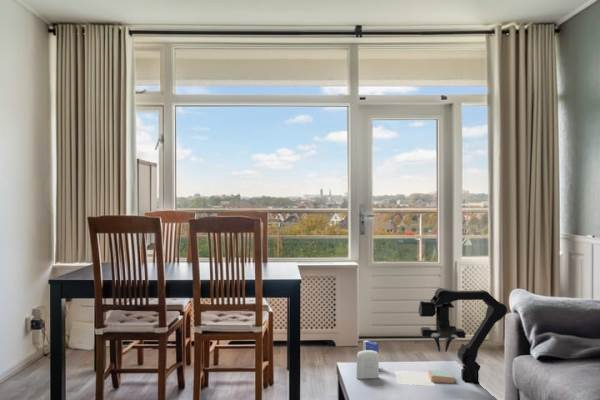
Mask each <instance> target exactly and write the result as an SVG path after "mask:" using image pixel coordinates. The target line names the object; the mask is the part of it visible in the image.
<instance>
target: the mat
mask: <svg viewBox="0 0 600 400" xmlns="http://www.w3.org/2000/svg"><path fill="white" fill-rule="evenodd" d="M428 373H429V371H427V372H426V371H406V370H394V374H395V377H396V381H397V385H408V386H409V385H410V386H414V385H415V386H426V387H427V386H429V387H430V386H431V387H436V384H435V382H431V380H430V378H429V376H428Z"/></svg>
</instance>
